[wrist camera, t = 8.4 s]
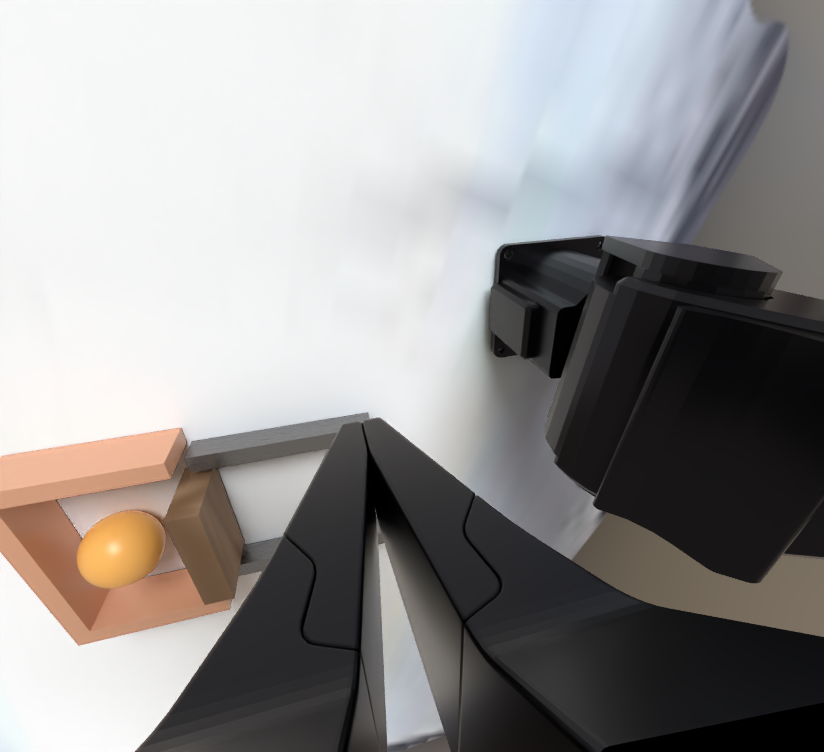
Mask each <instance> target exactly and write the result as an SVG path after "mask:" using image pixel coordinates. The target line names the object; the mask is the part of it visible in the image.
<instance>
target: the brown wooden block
mask: <svg viewBox="0 0 824 752" xmlns="http://www.w3.org/2000/svg"><path fill="white" fill-rule="evenodd" d="M163 523H164V525H165V527H166V529H167V531H168V533H169V535H170V537H171V539H172V541H173V543H174V545H175V547H176V549H177V551H178V553H179V555H180V557H181V559H182V561H183V563H184V565H185V567H186V569H187V571H188V573H189V575H190V577H191V579H192V581H193V583H194V585H195V587H196V589H197V591H198V593H199V595H200V597H201V599H202V601H203V603H204V605H208V604H212V603H216V602H220V601H225V600H229V599H233V598H234V597H235V591H236V585H237V579H238V574H239V568H240V562H241V556H242V550H243V545H244V540H243V537H242V534H241V532H240V529H239V526H238V524H237V521H236V518H235V516H234V513H233V510H232V507H231V505H230V502H229V499H228V497H227V494H226V491H225V489H224V486H223V483H222V481H221V478H220V475H219V473H218V470H217V468H214V469H209V470H203V471H198V472H192V473H190V471H189V468H185V470H184V473H183V475H182V477H181V480H180V482H179V485H178V487H177V490H176V492H175V495H174V497H173V499H172V502H171V504H170V507H169V509H168V512H167V514H166V517H165V519H164V521H163Z"/></svg>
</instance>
